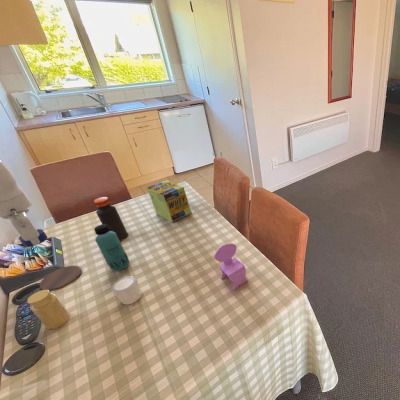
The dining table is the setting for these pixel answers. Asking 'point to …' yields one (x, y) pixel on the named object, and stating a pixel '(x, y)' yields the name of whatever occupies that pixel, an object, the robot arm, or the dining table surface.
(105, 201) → the vinegar
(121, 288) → the shot glass
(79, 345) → the dining table surface
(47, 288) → the coaster
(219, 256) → the toy chair
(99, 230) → the beverage bottle
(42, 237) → the lid
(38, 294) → the honey jar
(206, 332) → the dining table surface
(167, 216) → the protein box
